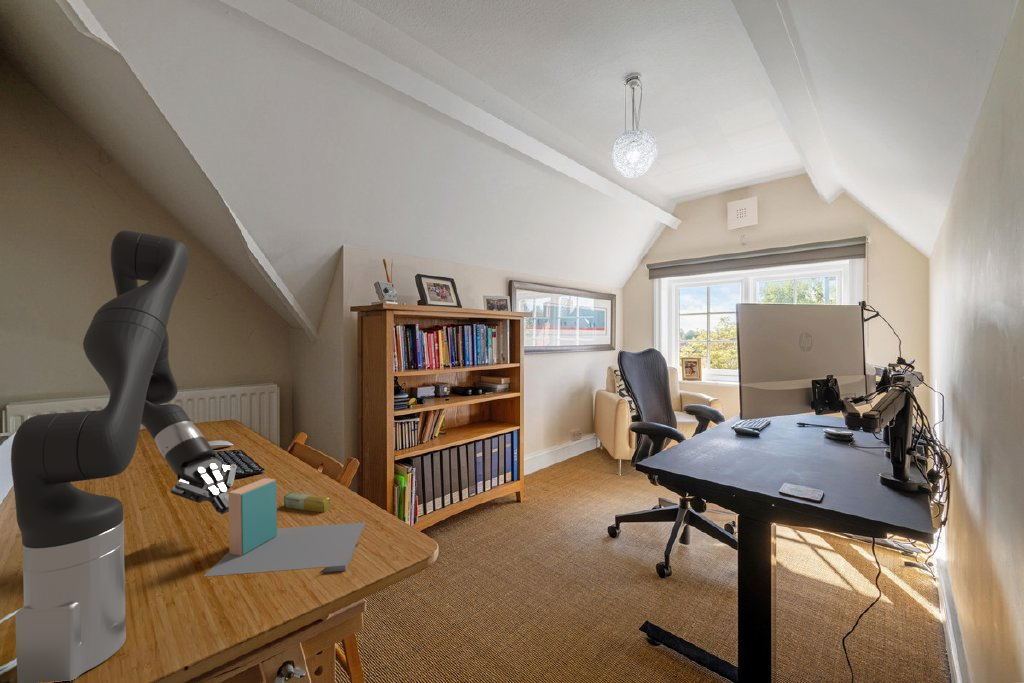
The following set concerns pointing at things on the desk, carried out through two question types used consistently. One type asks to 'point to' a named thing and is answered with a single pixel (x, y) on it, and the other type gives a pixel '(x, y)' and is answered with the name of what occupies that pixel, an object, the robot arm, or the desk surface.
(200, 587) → the desk surface
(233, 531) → the salmon pink box
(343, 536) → the slate mat
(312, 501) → the medication box
